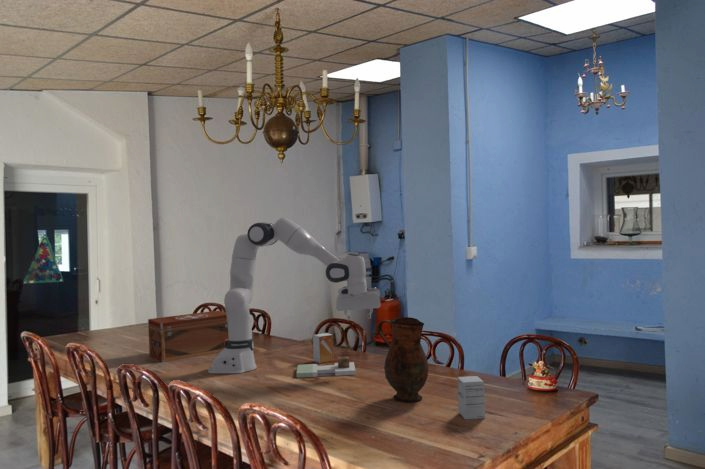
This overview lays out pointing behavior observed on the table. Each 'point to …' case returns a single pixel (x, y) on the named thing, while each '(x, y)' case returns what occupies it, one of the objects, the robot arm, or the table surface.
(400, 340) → the pitcher
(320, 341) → the small box
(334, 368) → the trap lane
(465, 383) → the supplement box
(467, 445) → the table surface
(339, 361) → the walnut block
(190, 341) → the wooden box
